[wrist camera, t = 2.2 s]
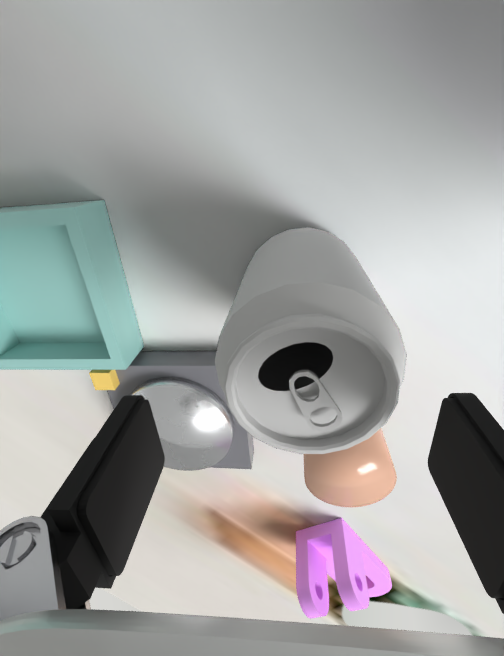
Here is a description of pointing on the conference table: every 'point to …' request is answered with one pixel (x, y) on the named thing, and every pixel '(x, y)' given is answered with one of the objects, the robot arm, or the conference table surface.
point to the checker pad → (188, 422)
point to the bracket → (336, 568)
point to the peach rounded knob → (352, 473)
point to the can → (309, 347)
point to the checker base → (183, 366)
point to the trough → (63, 290)
